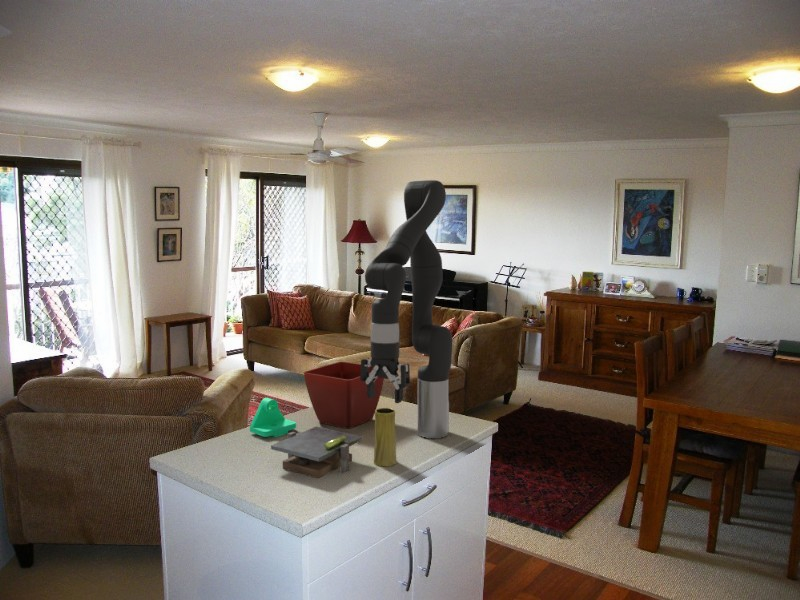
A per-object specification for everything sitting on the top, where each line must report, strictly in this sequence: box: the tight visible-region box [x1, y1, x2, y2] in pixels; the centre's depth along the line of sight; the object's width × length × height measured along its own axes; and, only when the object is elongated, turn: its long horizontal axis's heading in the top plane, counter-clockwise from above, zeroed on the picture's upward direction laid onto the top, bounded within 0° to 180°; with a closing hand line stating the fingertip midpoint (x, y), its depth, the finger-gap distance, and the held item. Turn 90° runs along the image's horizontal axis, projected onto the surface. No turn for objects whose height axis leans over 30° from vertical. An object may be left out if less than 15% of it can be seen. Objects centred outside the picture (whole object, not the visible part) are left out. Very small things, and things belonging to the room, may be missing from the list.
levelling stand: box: [282, 431, 353, 479], centre depth 174 cm, size 14×19×7 cm
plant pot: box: [303, 361, 385, 429], centre depth 211 cm, size 19×19×17 cm
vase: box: [373, 407, 398, 467], centre depth 175 cm, size 6×6×14 cm
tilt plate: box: [270, 426, 363, 461], centre depth 173 cm, size 18×16×3 cm
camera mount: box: [249, 397, 297, 438], centre depth 200 cm, size 12×8×10 cm, turn 137°
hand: (384, 400), depth 174 cm, fingers open, 8 cm apart
